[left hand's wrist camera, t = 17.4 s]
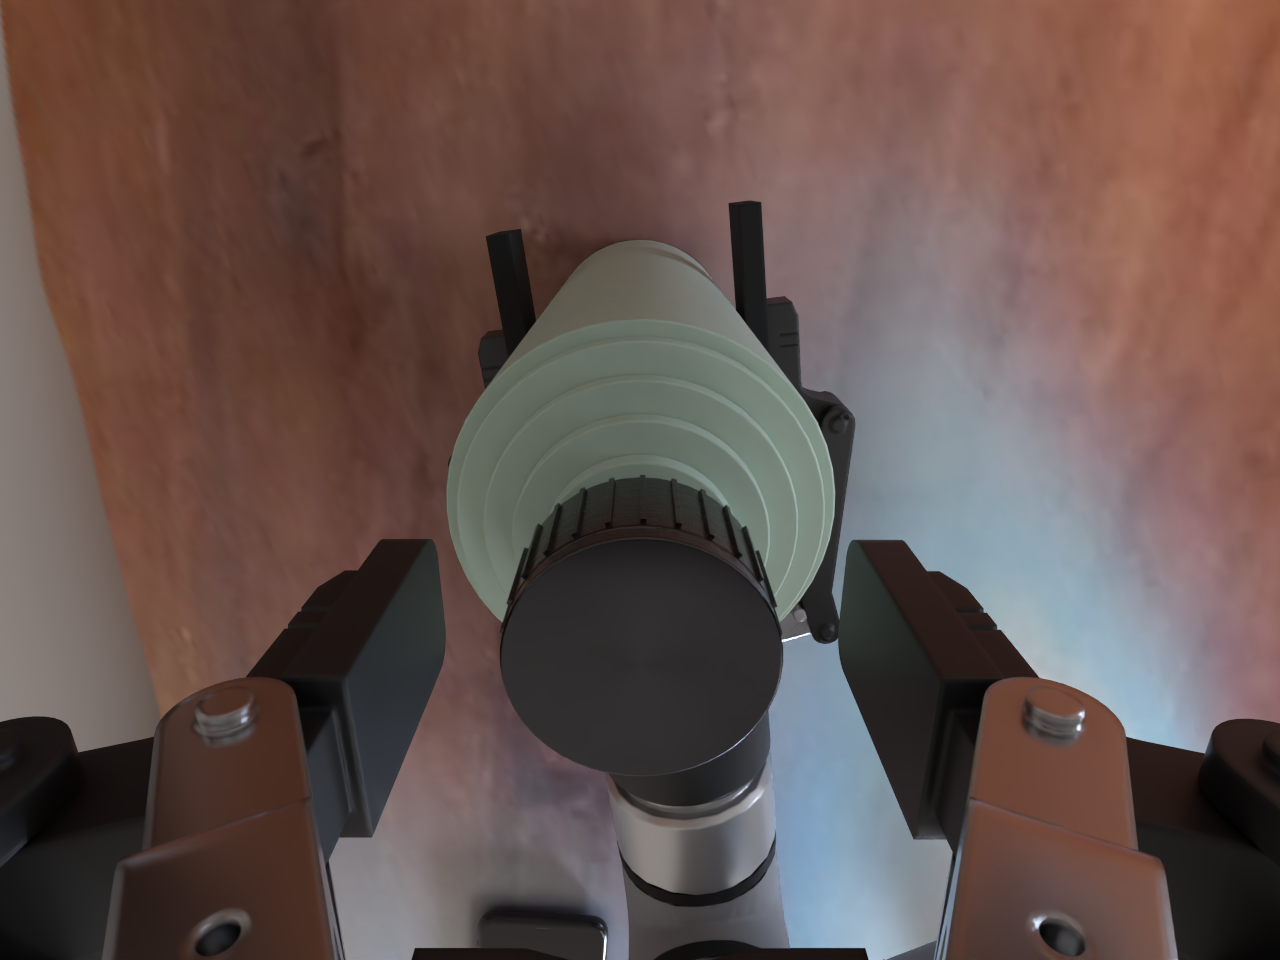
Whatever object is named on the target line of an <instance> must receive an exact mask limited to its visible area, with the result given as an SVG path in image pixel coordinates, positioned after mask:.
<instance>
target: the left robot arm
mask: <svg viewBox="0 0 1280 960" xmlns="http://www.w3.org/2000/svg"><path fill="white" fill-rule="evenodd" d="M445 639H446V634H445V621H444V612H443V602H442V593H441V584H440V575H439V566H438V557H437V551H436V547H435V544H434V542H433V541H432V540H431V539H382V540H380V541H379V542H378V544H377V545H376V546H375V548H374V549H373V551H372V552H371V553H370V555H369V556H368V557H367V559H366V560H365V561H364V563H363V564H362V566H361V567H360V568H359V570H358V571H343V572H342V573H340V574H339V575H337V576H335V577H334V578H332V579H331V580H329V581H327V582H326V583H324V584H323V585H321V586H319V587H318V588H317V589H316V590H315V591H314V593H313V594H312V595H311V596H310V598H309V599H308V600H307V601H306V603H305V604H304V605H303V606H302V610H301V612H298V613H297V614H296V615H295V616H294V618H293V619H292V620H291V621H290V623H289V624H288V629H284V630H283V631H282V633H281V634H280V635H279V636H278V638H277V639H276V640H275V641H274V643H273V644H272V645H271V646H270V648H269V649H268V650H267V651H266V653H265V654H264V655H263V656H262V658H261V659H260V660H259V661H258V663H257V664H256V665H255V666H254V668H253V669H252V670H251V671H250V673H249V674H248V675H247V676H246V678H239V679H234V680H229V681H225V682H222V683H218V684H215V685H213V686H210V687H207V688H205V689H202V690H200V691H198V692H196V693H194V694H192V695H190V696H189V697H187V698H185V699H184V700H182V701H181V702H179V703H178V704H177V705H175V706H174V707H173V708H172V709H171V710H169V711H168V712H167V713H166V714H165V716H164V717H163V718H162V719H161V720H160V722H159V724H158V726H157V727H156V731H155V734H154V737H151V738H147V739H142V740H138V741H133V742H128V743H123V744H118V745H113V746H108V747H103V748H98V749H93V750H88V751H83V752H78V750H77V747H76V745H75V742H74V739H73V736H72V733H71V730H70V728H69V727H68V725H67V724H66V723H64V722H63V721H61V720H58V719H55V718H50V717H24V718H17V719H11V720H7V721H3V722H0V960H346V956H345V950H344V944H343V938H342V932H341V926H340V921H339V915H338V909H337V903H336V897H335V891H334V885H333V879H332V874H331V869H330V864H329V858H330V856H331V854H332V852H333V849H334V847H335V845H336V843H337V841H338V839H339V837H372V836H373V833H374V831H375V829H376V826H377V824H378V821H379V819H380V816H381V814H382V811H383V809H384V807H385V804H386V802H387V799H388V797H389V794H390V792H391V790H392V787H393V785H394V782H395V780H396V777H397V775H398V773H399V770H400V768H401V765H402V763H403V760H404V758H405V755H406V753H407V751H408V748H409V746H410V743H411V741H412V738H413V736H414V734H415V731H416V729H417V726H418V724H419V721H420V719H421V717H422V714H423V712H424V709H425V707H426V704H427V702H428V699H429V697H430V695H431V692H432V690H433V687H434V685H435V682H436V680H437V678H438V675H439V673H440V670H441V667H442V664H443V659H444V653H445ZM838 645H839V655H840V661H841V665H842V669H843V672H844V674H845V676H846V679H847V681H848V684H849V686H850V688H851V691H852V693H853V696H854V698H855V700H856V703H857V705H858V708H859V710H860V712H861V715H862V717H863V719H864V722H865V724H866V727H867V729H868V731H869V734H870V736H871V739H872V741H873V743H874V746H875V748H876V751H877V753H878V755H879V758H880V760H881V763H882V765H883V767H884V770H885V772H886V775H887V777H888V779H889V782H890V784H891V786H892V789H893V791H894V794H895V796H896V798H897V801H898V803H899V806H900V808H901V810H902V813H903V815H904V818H905V820H906V822H907V825H908V827H909V830H910V832H911V834H912V837H913V839H947V841H948V843H949V845H950V847H951V849H952V852H953V854H952V859H951V864H950V869H949V874H948V879H947V885H946V891H945V897H944V903H943V909H942V915H941V921H940V926H939V932H938V938H937V944H936V950H935V956H934V960H1280V724H1279V723H1275V722H1270V721H1264V720H1256V719H1234V720H1228V721H1225V722H1223V723H1221V724H1219V725H1218V726H1216V727H1215V729H1214V730H1213V732H1212V735H1211V738H1210V741H1209V743H1208V746H1207V749H1206V752H1205V754H1204V753H1199V752H1194V751H1189V750H1185V749H1180V748H1175V747H1170V746H1165V745H1160V744H1155V743H1150V742H1145V741H1141V740H1137V739H1132V738H1129V737H1126V734H1125V731H1124V728H1123V726H1122V724H1121V722H1120V720H1119V719H1118V718H1117V717H1116V716H1115V714H1114V713H1113V712H1112V711H1111V710H1109V709H1108V708H1107V707H1106V706H1105V705H1103V704H1102V703H1101V702H1099V701H1098V700H1096V699H1095V698H1093V697H1091V696H1090V695H1088V694H1086V693H1084V692H1082V691H1080V690H1078V689H1075V688H1073V687H1070V686H1067V685H1065V684H1062V683H1058V682H1055V681H1051V680H1046V679H1041V678H1039V677H1038V675H1037V674H1036V673H1035V672H1034V671H1033V669H1032V668H1031V667H1030V666H1029V664H1028V663H1027V662H1026V661H1025V659H1024V658H1023V657H1022V656H1021V654H1020V653H1019V652H1018V651H1017V650H1016V648H1015V647H1014V646H1013V645H1012V643H1011V642H1010V641H1009V640H1008V638H1007V637H1006V636H1005V635H1004V634H1003V632H1002V631H1001V630H997V625H996V624H995V622H994V621H993V620H992V619H991V617H990V616H989V615H988V614H987V613H984V612H983V608H982V606H981V605H980V604H979V603H978V601H977V600H976V599H975V598H974V596H973V595H972V594H971V593H970V592H969V590H968V589H967V588H965V587H964V586H962V585H960V584H959V583H957V582H956V581H954V580H952V579H951V578H949V577H948V576H946V575H944V574H943V573H941V572H940V571H926V570H925V568H924V567H923V566H922V564H921V563H920V562H919V560H918V559H917V558H916V556H915V555H914V553H913V552H912V551H911V549H910V548H909V547H908V545H907V544H906V543H905V542H904V541H903V540H853V541H851V543H850V545H849V548H848V551H847V557H846V566H845V575H844V584H843V593H842V602H841V611H840V620H839V630H838ZM412 960H569V959H565V958H561V957H557V956H553V955H550V954H546V953H542V952H538V951H534V950H531V949H527V948H415V950H414V953H413V957H412ZM711 960H868V957H867V953H866V950H865V948H753V949H749V950H746V951H742V952H738V953H734V954H730V955H727V956H723V957H719V958H715V959H711Z"/></svg>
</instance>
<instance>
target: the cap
mask: <svg viewBox="0 0 1280 960" xmlns="http://www.w3.org/2000/svg"><path fill="white" fill-rule="evenodd" d="M506 604H508V607H507V610H506V613H505V616H504V620H503V623H502V626H501V633H502V638H501V645H500V668H501V674H502V680H503V683H504V686H505V689H506V692H507V695H508V697H509V699H510V701H511V703H512V705H513V707H514V709H515V711H516V712H517V714H518V715H519V717H520V718H521V720H522V721H523V723H524V724H525V725H526V726H527V727H528V728H529V729H530V731H531V732H532V733H533V734H534V735H535V736H536V737H537V738H539V739H540V740H541V741H542V742H543V743H544V744H546V745H547V746H548V747H550V748H551V749H553V750H554V751H556V752H557V753H559V754H560V755H562V756H564V757H566V758H568V759H570V760H572V761H574V762H576V763H578V764H581V765H584V766H586V767H589V768H592V769H595V770H599V771H603V772H607V773H613V774H619V775H629V776H653V775H663V774H670V773H676V772H680V771H683V770H687V769H691V768H694V767H696V766H699V765H702V764H704V763H707V762H709V761H711V760H713V759H715V758H717V757H719V756H720V755H722V754H724V753H726V752H727V751H728V750H730V749H731V748H733V747H734V746H736V745H737V744H738V743H739V742H741V741H742V740H743V739H744V738H745V737H746V736H747V735H749V734H750V732H751V731H752V730H753V729H754V728H755V727H756V726H757V725H758V723H759V722H760V721H761V719H762V718H763V716H764V715H765V713H766V712H767V710H768V709H769V707H770V705H771V703H772V701H773V699H774V697H775V695H776V692H777V689H778V685H779V682H780V679H781V673H782V666H783V645H782V638H781V636H782V629H781V626H780V623H779V620H778V617H777V613H776V610H775V608H776V607H777V604H776V600H775V597H774V594H773V591H772V588H771V585H770V582H769V579H768V576H767V573H766V570H765V567H764V564H763V561H762V558H761V555H760V552H759V550H757V551H755V548H754V545H753V542H752V539H751V536H750V533H749V529H748V528H747V526H744V527H742V526H741V524H740V523H739V521H738V520H737V519H736V518H735V517H734V516H733V515H732V514H731V510H730V507H729V506H727V505H725V506H724V507H723V506H722V505H721V504H720V503H719V502H717V501H716V500H714V499H713V498H711V497H710V496H708V495H706V491H705V490H703V489H700V491H699V490H696V489H694V488H692V487H690V486H687V485H684V484H681V483H677V479H673V478H672V479H671V481H670V480H664V479H660V478H646V475H640V477H638V478H624V479H618V480H615V479H614V478H609V481H608V482H605V483H601V484H599V485H596V486H592V487H590V488H588V489H585V487H583V488H581V489H580V491H579V493H578V494H576V495H574V496H573V497H571V498H570V499H568V500H567V501H565V502H564V503H563V504H560V503H557V504H556V505H555V507H554V511H553V512H552V513H551V514H550V515H549V516H548V518H547V519H546V520H545V521H544V522H543V523H542V525H540V524H539V523H538V524H537V526H536V527H535V530H534V534H533V537H532V540H531V543H530V545H529V548H524V550H523V552H522V556H521V559H520V562H519V565H518V568H517V571H516V575H515V578H514V581H513V584H512V587H511V590H510V594H509V597H508V600H507V603H506Z"/></svg>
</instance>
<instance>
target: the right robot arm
mask: <svg viewBox="0 0 1280 960" xmlns="http://www.w3.org/2000/svg"><path fill="white" fill-rule="evenodd" d="M729 215H730V229H731V244H732V258H733V272H734V287H735V301H736V311H737V313H738V314H739V315H740V316H741V318H742V319H743V320H744V322H745V323H746V324H747V326H748V327H749V328H750V330H751V331H752V332H753V334H754V335H755V336H756V338H757V339H758V340H759V341H760V343H761V344H762V345H763V347H764V348H765V349H766V351H767V352H768V353H769V355H770V356H771V357H772V359H773V360H774V361H775V362H776V364H777V365H778V366H779V368H780V369H781V370H782V372H783V373H784V374H785V376H786V377H787V378H788V380H789V381H790V382H791V384H792V385H793V386H794V387H795V389H796V390H797V391H798V393H799V394H800V395H801V397H802V398H803V399H804V401H805V402H806V404H807V406H808V407H809V409H810V411H811V412H812V414H813V416H814V417H815V419H816V421H817V422H818V425H819V427H820V430H821V432H822V434H823V437H824V439H825V442H826V444H827V447H828V451H829V455H830V460H831V464H832V468H833V476H834V486H835V508H834V519H833V525H832V530H831V535H830V540H829V543H828V546H827V549H826V552H825V555H824V558H823V561H822V563H821V565H820V567H819V569H818V571H817V573H816V575H815V577H814V579H813V581H812V583H811V584H810V586H809V587H808V589H807V590H806V591H805V593H804V594H803V596H802V597H801V599H800V600H799V602H798V603H797V604H796V605H795V606H794V607H793V608H792V610H791V611H790V612H789V613H788V614H787V615H786V617H785V618H784V619H782V620H781V621H780V622H779V623H780V626H781V629H782V636H781V638H782V642H783V641H787V640H790V639H794V638H798V637H801V636H805V635H809V634H812V636H813V638H814V640H816V641H817V642H819V643H823V644H828V643H832V642H834V641H836V640H837V639H838V630H839V617H838V614H837V610H836V606H835V602H834V599H833V595H832V587H833V580H834V573H835V566H836V559H837V551H838V544H839V537H840V530H841V523H842V516H843V509H844V502H845V494H846V487H847V480H848V473H849V466H850V459H851V452H852V445H853V437H854V430H855V418H854V416H853V415H852V413H851V412H850V411H849V410H848V409H847V408H846V407H845V406H844V404H843V403H842V402H841V401H840V400H839V399H838V398H837V397H836V396H835V395H834V394H832V393H831V392H826V391H824V392H816V391H812V390H808V389H805V388H803V387H802V385H801V372H800V347H799V322H798V314H797V312H796V310H795V308H794V306H793V303H792V302H791V301H790V300H789V299H787V298H786V297H785V296H783V297H775V298H766V282H765V264H764V245H763V227H762V209H761V202H756V201H743V202H735V203H729ZM486 240H487V245H488V251H489V256H490V262H491V267H492V273H493V278H494V284H495V289H496V295H497V300H498V306H499V311H500V317H501V322H502V327H503V330H496V331H488V332H487V333H486V334H485V335H484V336H483V337H482V338H481V341H480V346H479V351H478V355H479V360H480V365H481V369H482V375H483V379H484V386H485V389H486V388H487V386H488V385H489V384H490V382H491V381H492V380H493V378H494V377H495V376H496V374H497V373H498V372H499V370H500V369H501V368H502V366H503V365H504V364H505V362H506V361H507V360H508V358H509V357H510V356H511V354H512V353H513V352H514V350H515V349H516V348H517V346H518V345H519V344H520V342H521V341H522V340H523V338H524V337H525V336H526V334H527V333H528V332H529V330H530V329H531V328H532V326H533V325H534V324H535V322H536V318H535V312H534V306H533V300H532V294H531V288H530V282H529V276H528V270H527V264H526V258H525V252H524V246H523V240H522V234H521V229H518V230H510V231H502V232H498V233H495V234H492V235H489V236H486ZM451 457H452V455H451ZM451 457H450V458H449V462H448V466H449V465H450V461H451ZM769 749H770V729H769V715H768V710H767V712H766V713H765V715H764V716H763V718H762V719H761V721H760V722H759V723H758V725H757V726H756V727H755V728H754V729H753V730H752V731H751V732H750V734H749V735H747V736H746V737H745V738H744V739H743V740H742V741H741V742H739V743H738V744H737V745H736V746H734V747H733V748H731V749H730V750H728V751H727V752H726V753H724V754H722V755H720V756H719V757H717V758H715V759H713V760H711V761H709V762H707V763H704V764H702V765H699V766H696V767H694V768H691V769H687V770H683V771H680V772H676V773H670V774H663V775H653V776H629V775H619V774H613V773H607V772H606V782H607V787H608V792H609V798H610V803H611V809H612V814H613V820H614V825H615V830H616V836H617V844H618V848H619V852H620V857H621V861H622V867H623V875H624V883H625V890H626V898H627V906H628V917H629V960H711V959H715V958H719V957H723V956H727V955H730V954H734V953H738V952H742V951H746V950H749V949H753V948H790V945H789V939H788V934H787V929H786V924H785V919H784V913H783V906H782V899H781V890H780V880H779V871H778V861H777V852H776V813H775V801H774V788H773V775H772V762H771V754H770V752H769ZM936 944H937V941H934V942H931V943H929V944H926V945H924V946H921V947H918V948H916V949H913V950H910V951H908V952H905V953H903V954H900V955H897V956H895V957H892V958H889V959H887V960H934V956H935V950H936ZM883 960H884V959H883Z"/></svg>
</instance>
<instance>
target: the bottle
mask: <svg viewBox="0 0 1280 960" xmlns="http://www.w3.org/2000/svg"><path fill="white" fill-rule="evenodd" d="M640 475H646V478H660V479H664V480H670V481H671V479H672V478H673V479H677V483H681V484H684V485H687V486H690V487H692V488H694V489H696V490H699V491H700V489H703V490H705V491H706V495H708V496H710V497H711V498H713V499H714V500H716V501H717V502H719V503H720V504H721V505H722V506H723V507H724V506H725V505H727V506H729V507H730V510H731V514H732V515H733V516H734V517H735V518H736V519H737V520H738V521H739V523H740V524H741V526H742V527H744V526H747V528H748V529H749V533H750V536H751V539H752V542H753V545H754V548H755V551H757V550H759V552H760V555H761V558H762V561H763V564H764V567H765V570H766V573H767V576H768V579H769V582H770V585H771V588H772V591H773V594H774V597H775V600H776V604H777V607H776V608H775V610H776V613H777V617H778V620H779V622H780V621H781V620H782V619H784V618H785V617H786V615H787V614H788V613H789V612H790V611H791V610H792V608H793V607H794V606H795V605H796V604H797V603H798V602H799V600H800V599H801V597H802V596H803V594H804V593H805V591H806V590H807V589H808V587H809V586H810V584H811V583H812V581H813V579H814V577H815V575H816V573H817V571H818V569H819V567H820V565H821V563H822V561H823V558H824V555H825V552H826V549H827V546H828V543H829V540H830V535H831V530H832V525H833V519H834V508H835V486H834V476H833V468H832V464H831V460H830V455H829V451H828V447H827V444H826V442H825V439H824V437H823V434H822V432H821V430H820V427H819V425H818V422H817V421H816V419H815V417H814V416H813V414H812V412H811V411H810V409H809V407H808V406H807V404H806V402H805V401H804V399H803V398H802V397H801V395H800V394H799V393H798V391H797V390H796V389H795V387H794V386H793V385H792V384H791V382H790V381H789V380H788V378H787V377H786V376H785V374H784V373H783V372H782V370H781V369H780V368H779V366H778V365H777V364H776V362H775V361H774V360H773V359H772V357H771V356H770V355H769V353H768V352H767V351H766V349H765V348H764V347H763V345H762V344H761V343H760V341H759V340H758V339H757V338H756V336H755V335H754V334H753V332H752V331H751V330H750V328H749V327H748V326H747V324H746V323H745V322H744V320H743V319H742V318H741V316H740V315H739V314H738V313H737V311H736V310H735V309H734V307H733V306H732V305H731V303H730V302H729V301H728V299H727V298H726V297H725V295H724V294H723V293H722V292H721V290H720V289H719V288H718V286H717V285H716V284H715V282H714V281H713V280H712V278H711V277H710V276H709V275H708V273H707V272H706V271H705V270H704V268H703V267H702V266H701V265H700V264H699V263H698V262H697V261H696V260H694V259H693V258H692V257H690V256H689V255H688V254H686V253H685V252H683V251H681V250H679V249H677V248H675V247H673V246H670V245H668V244H665V243H661V242H656V241H651V240H629V241H623V242H618V243H615V244H612V245H609V246H607V247H605V248H603V249H601V250H599V251H597V252H595V253H594V254H592V255H591V256H589V257H588V258H586V259H585V260H584V261H583V262H582V263H581V264H580V265H579V266H578V267H577V268H576V269H575V270H574V272H573V273H572V274H571V275H570V277H569V278H568V279H567V281H566V282H565V283H564V285H563V286H562V287H561V289H560V290H559V291H558V293H557V294H556V295H555V297H554V298H553V299H552V301H551V302H550V303H549V305H548V306H547V307H546V309H545V310H544V311H543V313H542V314H541V315H540V317H539V318H538V320H537V321H536V322H535V324H534V325H533V326H532V328H531V329H530V330H529V332H528V333H527V334H526V336H525V337H524V338H523V340H522V341H521V342H520V344H519V345H518V346H517V348H516V349H515V350H514V352H513V353H512V354H511V356H510V357H509V358H508V360H507V361H506V362H505V364H504V365H503V366H502V368H501V369H500V370H499V372H498V373H497V374H496V376H495V377H494V378H493V380H492V381H491V382H490V384H489V385H488V386H487V388H486V389H485V391H484V392H483V393H482V395H481V396H480V397H479V399H478V400H477V402H476V404H475V405H474V407H473V408H472V410H471V412H470V413H469V415H468V416H467V418H466V420H465V422H464V424H463V427H462V429H461V431H460V433H459V436H458V438H457V440H456V443H455V446H454V450H453V454H452V457H451V461H450V465H449V472H448V480H447V488H446V492H447V516H448V522H449V528H450V535H451V538H452V541H453V544H454V548H455V551H456V554H457V557H458V559H459V561H460V564H461V566H462V568H463V570H464V572H465V574H466V577H467V579H468V580H469V582H470V583H471V585H472V586H473V588H474V590H475V591H476V593H477V594H478V596H479V597H480V599H481V600H482V601H483V602H484V603H485V605H486V606H487V607H488V608H489V609H490V611H491V612H492V613H493V614H494V615H495V616H496V617H497V618H498V619H499V620H500V621H501V622H502V623H503V620H504V616H505V613H506V610H507V607H508V604H506V603H507V600H508V597H509V594H510V590H511V587H512V584H513V581H514V578H515V575H516V571H517V568H518V565H519V562H520V559H521V556H522V552H523V550H524V548H529V545H530V543H531V540H532V537H533V534H534V530H535V527H536V526H537V524H538V523H539V524H540V525H542V523H543V522H544V521H545V520H546V519H547V518H548V516H549V515H550V514H551V513H552V512H553V511H554V507H555V505H556V504H557V503H560V504H563V503H564V502H565V501H567V500H568V499H570V498H571V497H573V496H574V495H576V494H578V493H579V491H580V489H581V488H583V487H585V489H588V488H590V487H592V486H596V485H599V484H601V483H605V482H608V481H609V478H614V479H615V480H618V479H624V478H638V477H640Z"/></svg>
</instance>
